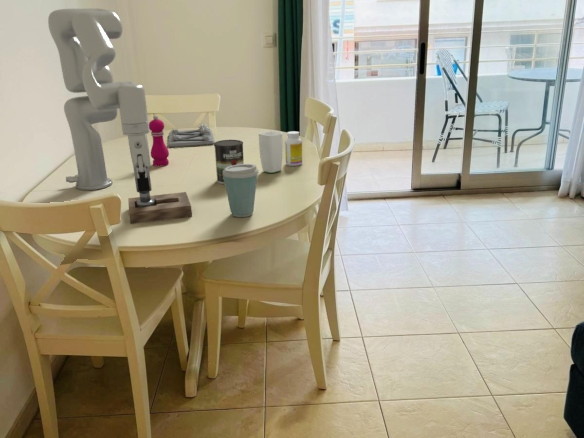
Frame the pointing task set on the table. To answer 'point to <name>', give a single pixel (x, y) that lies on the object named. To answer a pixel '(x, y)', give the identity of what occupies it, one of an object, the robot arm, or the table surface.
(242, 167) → the disposable coffee cup
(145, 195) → the peg
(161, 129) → the pepper mill
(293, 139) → the supplement bottle
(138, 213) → the keyhole plate
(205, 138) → the grey piece
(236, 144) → the coffee can
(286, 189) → the table surface
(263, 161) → the cup
